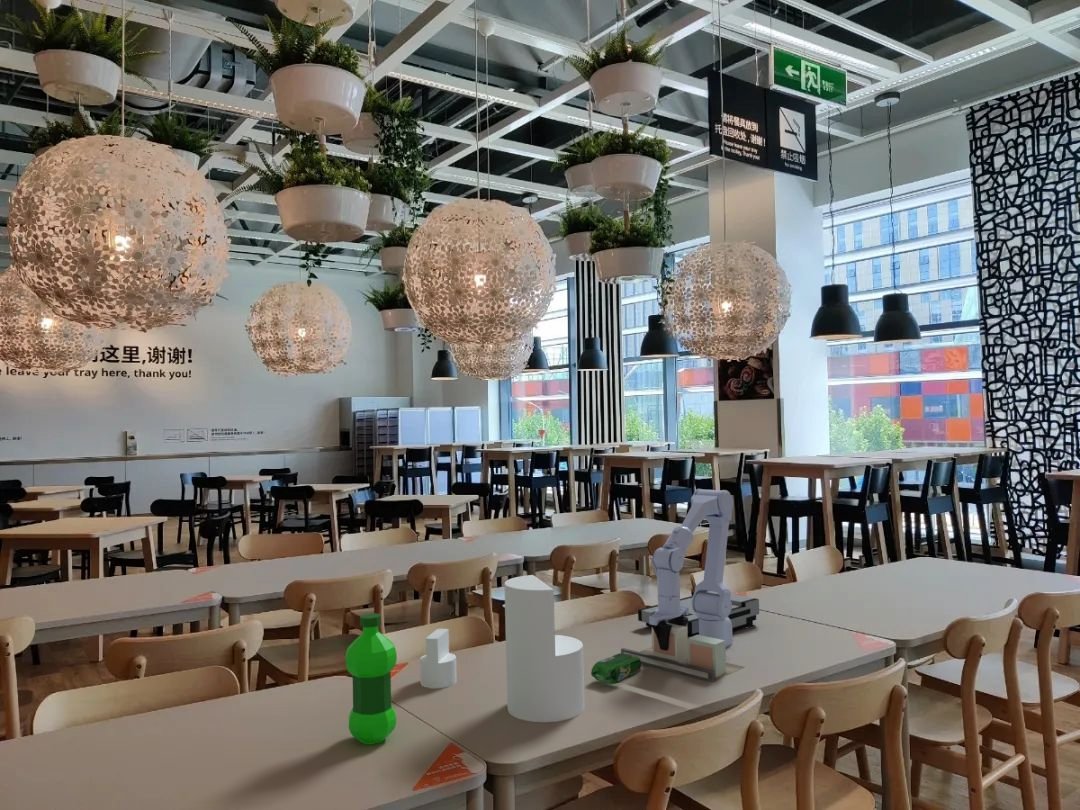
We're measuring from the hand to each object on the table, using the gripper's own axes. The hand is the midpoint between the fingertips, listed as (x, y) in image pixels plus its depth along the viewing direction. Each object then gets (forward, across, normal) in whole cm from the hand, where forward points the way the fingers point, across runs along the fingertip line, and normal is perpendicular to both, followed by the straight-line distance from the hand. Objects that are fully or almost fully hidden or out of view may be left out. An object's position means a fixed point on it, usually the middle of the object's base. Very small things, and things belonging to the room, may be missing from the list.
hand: (670, 647), depth 197 cm
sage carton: (+4, 0, +11) cm, 12 cm away
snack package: (+5, +16, -4) cm, 18 cm away
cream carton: (+2, 0, 0) cm, 3 cm away
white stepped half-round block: (+5, +48, -36) cm, 60 cm away
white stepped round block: (+5, +42, -4) cm, 42 cm away
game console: (+6, -36, -15) cm, 39 cm away
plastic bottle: (+5, +78, -18) cm, 80 cm away
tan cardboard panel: (+5, -2, +2) cm, 6 cm away
